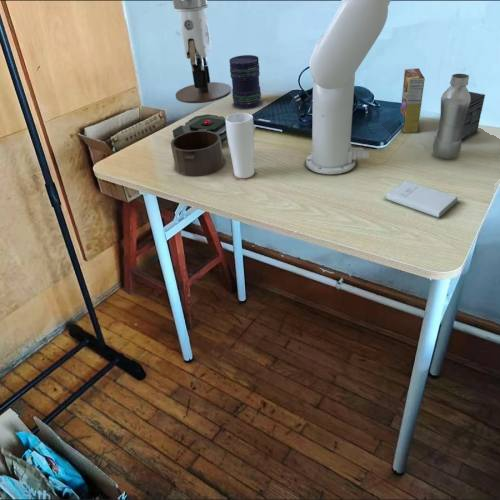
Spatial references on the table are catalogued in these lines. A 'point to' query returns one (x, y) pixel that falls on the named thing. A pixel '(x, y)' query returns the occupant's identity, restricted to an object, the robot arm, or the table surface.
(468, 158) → the table surface
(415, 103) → the candy box
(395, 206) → the table surface
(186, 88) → the lid
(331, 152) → the robot arm
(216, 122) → the four-lobed dark green device
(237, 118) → the drinking glass
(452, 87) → the plastic bottle
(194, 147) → the two-handled cooking pot
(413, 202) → the hard drive
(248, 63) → the storage jar
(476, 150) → the table surface
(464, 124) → the small box
